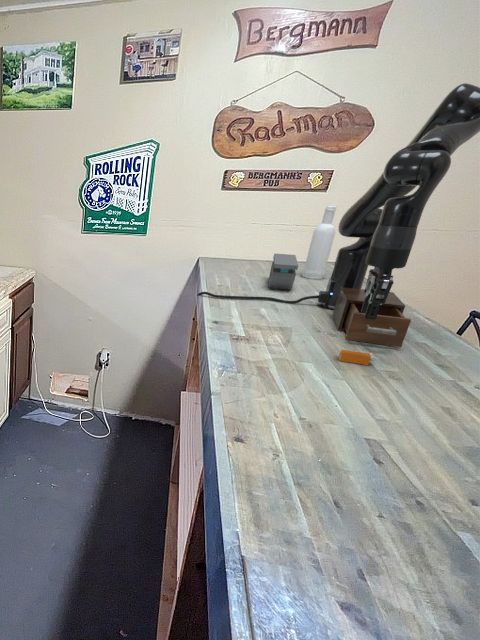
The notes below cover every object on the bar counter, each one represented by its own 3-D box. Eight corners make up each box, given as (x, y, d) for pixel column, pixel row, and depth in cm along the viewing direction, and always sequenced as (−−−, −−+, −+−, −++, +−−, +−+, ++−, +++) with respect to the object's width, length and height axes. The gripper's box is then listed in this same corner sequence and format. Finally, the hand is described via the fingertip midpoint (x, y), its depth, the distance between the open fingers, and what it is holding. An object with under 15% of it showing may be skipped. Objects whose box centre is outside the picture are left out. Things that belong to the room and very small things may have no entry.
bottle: (320, 275, 205) (339, 205, 193) (325, 279, 198) (345, 207, 186) (299, 274, 207) (317, 205, 195) (304, 278, 200) (322, 206, 188)
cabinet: (394, 337, 133) (405, 305, 129) (337, 330, 139) (347, 299, 135) (383, 321, 146) (393, 292, 142) (332, 315, 152) (340, 287, 148)
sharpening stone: (291, 293, 177) (298, 265, 173) (268, 291, 181) (274, 263, 176) (289, 280, 197) (295, 255, 193) (268, 278, 201) (274, 253, 197)
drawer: (405, 353, 120) (415, 324, 117) (347, 344, 125) (356, 317, 122) (389, 330, 136) (398, 304, 133) (339, 323, 141) (346, 299, 138)
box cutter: (339, 360, 117) (341, 352, 116) (338, 357, 119) (340, 349, 118) (373, 366, 114) (377, 357, 113) (372, 363, 116) (375, 354, 115)
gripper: (419, 251, 98) (393, 326, 105) (404, 242, 109) (381, 310, 116) (376, 248, 101) (353, 321, 108) (366, 239, 113) (345, 306, 120)
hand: (368, 315), depth 112 cm, fingers open, 4 cm apart
